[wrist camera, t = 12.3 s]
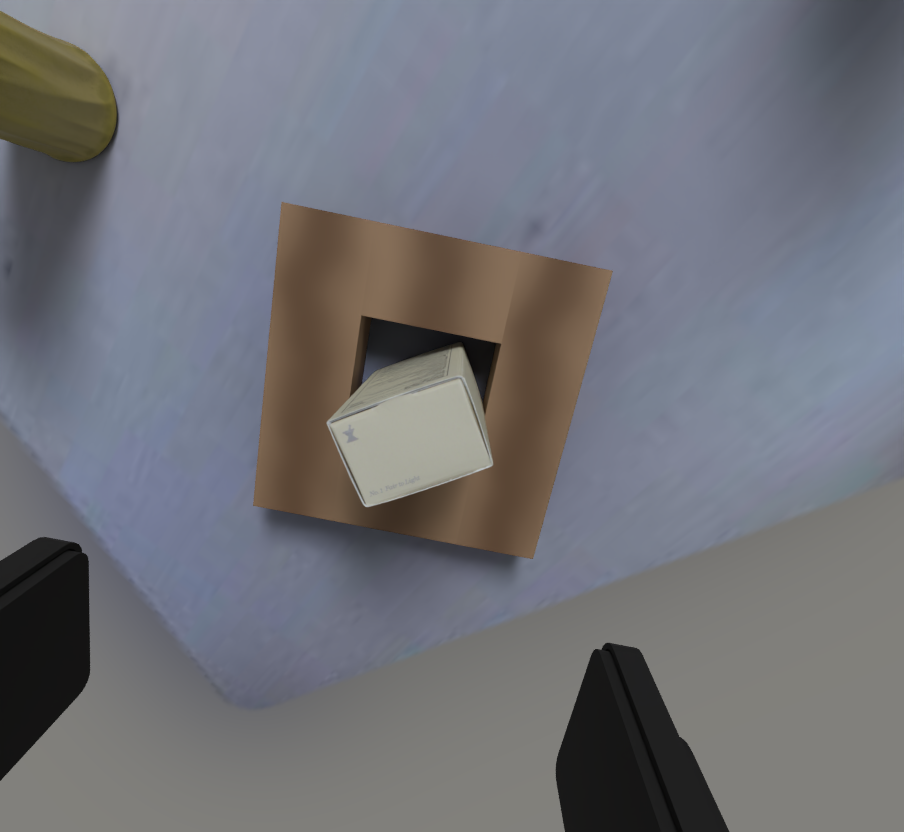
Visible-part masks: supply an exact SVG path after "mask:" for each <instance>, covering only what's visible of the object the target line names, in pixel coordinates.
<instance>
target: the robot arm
mask: <svg viewBox="0 0 904 832" xmlns="http://www.w3.org/2000/svg"><path fill="white" fill-rule="evenodd" d="M89 631H90V629H89V561H88V557H87V555H86V554H84V553H82V549H81V547H80V545H79V544H77V543H74V542H68V541H63V540H58V539H53V538H47V537H42V538H38V539H36V540H33V541H32V542H30V543H29V544H27V545H25V546H24V547H22V548H21V549H19V550H17V551H16V552H14V553H12V554H11V555H9V556H8V557H6V558H5V559H3V560H1V561H0V781H1V780H2V778H3V777H4V776H5V775H6V774H7V773H8V772H9V771H10V770H11V769H12V767H13V766H14V765H15V764H16V763H17V762H18V761H19V760H20V759H21V758H22V757H23V755H24V754H25V753H26V752H27V751H28V750H29V749H30V748H31V747H32V746H33V745H34V744H35V742H36V741H37V740H38V739H39V738H40V737H41V736H42V735H43V734H44V733H45V732H46V730H47V729H48V728H49V727H50V726H51V725H52V724H53V723H54V722H55V720H57V719H58V717H59V716H60V715H61V714H62V713H63V712H64V711H65V710H66V709H67V708H68V706H69V705H70V704H71V703H72V702H73V701H74V700H75V699H76V698H77V697H78V695H79V694H80V693H81V692H82V690H83V689H84V687H85V685H86V683H87V681H88V678H89V675H90V636H89V635H90V632H89ZM556 781H557V788H558V793H559V799H560V805H561V811H562V817H563V823H564V828H565V832H729V830H728V828H727V826H726V824H725V822H724V819H723V817H722V815H721V813H720V811H719V809H718V806H717V804H716V802H715V800H714V798H713V796H712V794H711V791H710V789H709V788H708V785H707V783H706V781H705V778H704V776H703V774H702V772H701V770H700V768H699V765H698V763H697V761H696V759H695V757H694V755H693V753H692V751H691V749H690V747H689V746H688V744H687V743H686V742H685V741H684V740H683V739H682V738H681V737H679V735H678V733H677V730H676V728H675V726H674V724H673V722H672V719H671V717H670V715H669V713H668V710H667V708H666V706H665V704H664V702H663V699H662V697H661V695H660V693H659V690H658V688H657V686H656V684H655V682H654V679H653V677H652V675H651V673H650V671H649V668H648V666H647V664H646V662H645V659H644V657H643V655H642V653H641V652H640V650H639V649H637V648H634V647H628V646H623V645H617V644H612V643H606V644H605V645H604V646H603V648H602V650H599V649H595V650H594V651H593V653H592V655H591V658H590V661H589V664H588V667H587V670H586V673H585V676H584V679H583V682H582V685H581V688H580V691H579V694H578V697H577V700H576V703H575V706H574V709H573V712H572V715H571V718H570V721H569V723H568V726H567V730H566V732H565V735H564V739H563V741H562V745H561V748H560V750H559V753H558V757H557V762H556Z"/></svg>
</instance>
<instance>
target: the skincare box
mask: <svg viewBox="0 0 904 832" xmlns="http://www.w3.org/2000/svg"><path fill="white" fill-rule="evenodd" d="M327 426H328V428H329V430H330V432H331V435H332V438H333V440H334V442H335V445H336V447H337V449H338V452H339V454H340V457H341V459H342V461H343V463H344V465H345V467H346V470H347V472H348V474H349V477H350V479H351V481H352V483H353V485H354V487H355V489H356V491H357V493H358V495H359V497H360V500H361V502H362V504H363V505H364V506H365V507H371V506H374V505H378V504H381V503H385V502H389V501H392V500H395V499H398V498H402V497H405V496H408V495H411V494H414V493H417V492H421V491H424V490H427V489H429V488H432V487H435V486H439V485H441V484H444V483H447V482H450V481H453V480H456V479H459V478H462V477H464V476H467V475H470V474H473V473H476V472H479V471H481V470H484V469H486V468H489V467H492V466H493V459H492V454H491V448H490V442H489V437H488V432H487V426H486V421H485V415H484V409H483V403H482V398H481V395H480V392H479V389H478V386H477V383H476V380H475V377H474V374H473V371H472V368H471V365H470V362H469V359H468V356H467V353H466V350H465V348H464V345H463V343H461V342H457V343H454V344H451V345H448V346H444V347H441V348H438V349H435V350H432V351H429V352H426V353H423V354H420V355H418V356H415V357H412V358H409V359H406V360H403V361H401V362H398V363H395V364H392V365H390V366H387V367H384V368H382V369H379V370H376V371H375V372H374V373H373V374H372V375H371V376H370V377H369V378H368V379H367V380H366V381H365V382H364V383H363V384H362V385H361V386H360V387H359V388H358V390H357V391H356V392H355V393H354V394H353V395H352V396H351V397H350V398H349V399H348V400H347V401H346V402H345V403H344V404H343V405H342V406H341V407H340V408H339V410H338V411H337V412H336V413H335V414H334V415H333V416H332V417H331V418H330V419H329V420H328V421H327Z"/></svg>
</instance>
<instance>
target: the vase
mask: <svg viewBox="0 0 904 832" xmlns="http://www.w3.org/2000/svg"><path fill="white" fill-rule="evenodd" d="M116 119H117V108H116V101H115V97H114V93H113V90H112V87H111V85H110V82H109V80H108V78H107V77H106V75H105V73H104V72H103V70H102V69H101V68H100V66H99V65H98V64H97V63H96V62H95V61H94V60H93V59H92V58H91V57H90V56H89V55H88V54H87V53H86V52H85V51H83V50H82V49H80V48H79V47H77V46H75V45H73V44H71V43H68V42H65V41H63V40H60V39H57V38H54V37H52V36H49V35H47V34H44V33H42V32H40V31H38V30H36V29H34V28H31V27H29V26H27V25H25V24H24V23H22V22H20V21H18V20H16V19H14V18H13V17H11V16H9V15H7V14H5V13H3V12H1V11H0V139H3V140H6V141H9V142H12V143H14V144H17V145H20V146H23V147H26V148H30V149H33V150H36V151H40V152H42V153H45V154H47V155H49V156H51V157H52V158H55V159H57V160H61V161H66V162H80V161H85V160H88V159H91V158H93V157H95V156H97V155H98V154H99V153H101V152H102V151H103V150H104V149H105V148H106V146H107V145H108V143H109V142H110V140H111V138H112V136H113V134H114V130H115V126H116Z"/></svg>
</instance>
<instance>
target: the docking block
mask: <svg viewBox="0 0 904 832" xmlns="http://www.w3.org/2000/svg"><path fill="white" fill-rule="evenodd" d="M612 272H613V271H611V270H606V269H601V268H596V267H591V266H587V265H582V264H577V263H572V262H567V261H563V260H558V259H553V258H548V257H543V256H539V255H534V254H529V253H524V252H519V251H515V250H510V249H505V248H500V247H495V246H491V245H486V244H481V243H476V242H471V241H466V240H462V239H457V238H452V237H447V236H442V235H438V234H433V233H428V232H423V231H418V230H414V229H409V228H404V227H399V226H394V225H390V224H385V223H380V222H375V221H370V220H366V219H361V218H356V217H351V216H346V215H342V214H337V213H332V212H327V211H322V210H318V209H313V208H308V207H303V206H298V205H293V204H289V203H284V202H282V204H281V215H280V225H279V236H278V247H277V257H276V268H275V279H274V289H273V300H272V310H271V321H270V332H269V342H268V353H267V364H266V374H265V385H264V396H263V406H262V417H261V428H260V438H259V449H258V459H257V470H256V481H255V491H254V502H253V506H258V507H263V508H268V509H274V510H279V511H284V512H289V513H294V514H300V515H305V516H310V517H315V518H321V519H326V520H331V521H336V522H342V523H347V524H352V525H357V526H363V527H368V528H373V529H378V530H383V531H389V532H394V533H399V534H404V535H410V536H415V537H420V538H425V539H431V540H436V541H441V542H446V543H451V544H457V545H462V546H467V547H472V548H478V549H483V550H488V551H493V552H499V553H504V554H509V555H514V556H520V557H525V558H530V559H533V557H534V553H535V549H536V546H537V542H538V539H539V535H540V531H541V528H542V524H543V521H544V517H545V513H546V510H547V506H548V503H549V499H550V495H551V492H552V488H553V485H554V481H555V477H556V474H557V470H558V467H559V463H560V459H561V456H562V452H563V449H564V445H565V441H566V438H567V434H568V431H569V427H570V423H571V420H572V416H573V413H574V409H575V405H576V402H577V398H578V395H579V391H580V387H581V384H582V380H583V377H584V373H585V369H586V366H587V362H588V359H589V355H590V351H591V348H592V344H593V341H594V337H595V333H596V330H597V326H598V323H599V319H600V315H601V312H602V308H603V304H604V301H605V297H606V294H607V290H608V286H609V283H610V279H611V276H612ZM371 318H377V319H382V320H387V321H392V322H397V323H402V324H407V325H412V326H417V327H422V328H427V329H431V330H436V331H441V332H446V333H451V334H456V335H461V336H466V337H471V338H476V339H481V340H486V341H491V342H496V346H495V350H494V355H493V359H492V364H491V368H490V373H489V377H488V382H487V386H486V391H485V395H484V400H483V409H484V415H485V421H486V426H487V432H488V437H489V442H490V448H491V454H492V459H493V466H492V467H489V468H486V469H484V470H481V471H479V472H476V473H473V474H470V475H467V476H464V477H462V478H459V479H456V480H453V481H450V482H447V483H444V484H441V485H439V486H435V487H432V488H429V489H427V490H424V491H421V492H417V493H414V494H411V495H408V496H405V497H402V498H398V499H395V500H392V501H389V502H385V503H381V504H378V505H374V506H371V507H365V506H364V505H363V504H362V502H361V500H360V497H359V495H358V493H357V491H356V489H355V487H354V485H353V483H352V481H351V479H350V477H349V474H348V472H347V470H346V467H345V465H344V463H343V461H342V459H341V457H340V454H339V452H338V449H337V447H336V445H335V442H334V440H333V438H332V435H331V432H330V430H329V428H328V426H327V421H328V420H329V419H330V418H331V417H332V416H333V415H334V414H335V413H336V412H337V411H338V410H339V408H340V407H341V406H342V405H343V404H344V403H345V402H346V401H347V400H348V399H349V398H350V397H351V396H352V395H353V394H354V393H355V392H356V391H357V390H358V388H359V387H360V386H361V385H362V378H363V372H364V365H365V358H366V352H367V345H368V338H369V332H370V325H371Z"/></svg>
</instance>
